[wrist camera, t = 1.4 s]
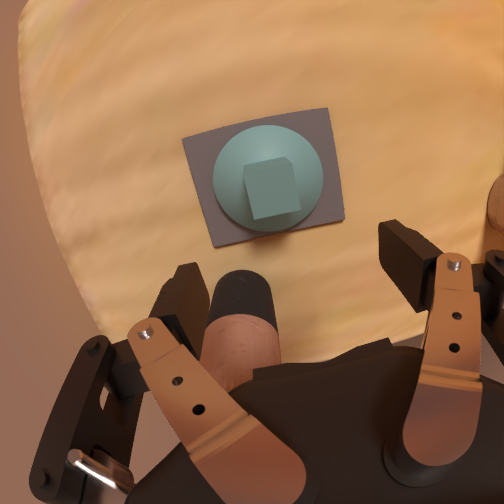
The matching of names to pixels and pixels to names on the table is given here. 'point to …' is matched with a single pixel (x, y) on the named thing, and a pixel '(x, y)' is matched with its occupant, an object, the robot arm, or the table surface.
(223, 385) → the travel mug
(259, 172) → the lid
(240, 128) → the mat
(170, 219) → the table surface
